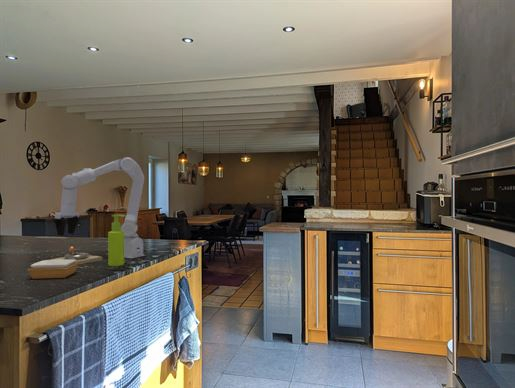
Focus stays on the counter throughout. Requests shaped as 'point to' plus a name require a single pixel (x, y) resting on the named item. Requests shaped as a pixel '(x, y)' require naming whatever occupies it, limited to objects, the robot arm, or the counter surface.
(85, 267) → the counter surface
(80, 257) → the handwheel
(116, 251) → the soap dispenser
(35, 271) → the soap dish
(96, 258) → the board
